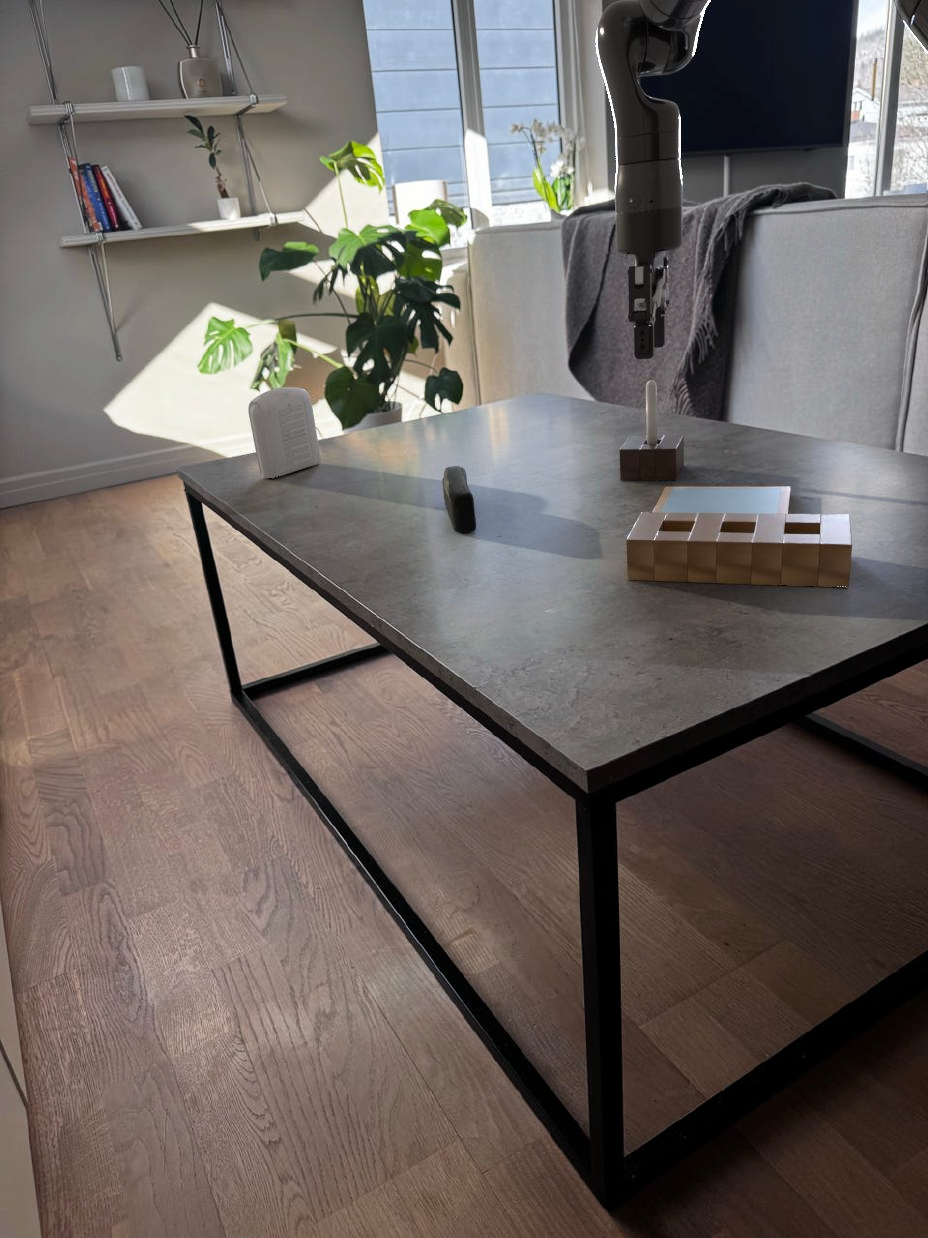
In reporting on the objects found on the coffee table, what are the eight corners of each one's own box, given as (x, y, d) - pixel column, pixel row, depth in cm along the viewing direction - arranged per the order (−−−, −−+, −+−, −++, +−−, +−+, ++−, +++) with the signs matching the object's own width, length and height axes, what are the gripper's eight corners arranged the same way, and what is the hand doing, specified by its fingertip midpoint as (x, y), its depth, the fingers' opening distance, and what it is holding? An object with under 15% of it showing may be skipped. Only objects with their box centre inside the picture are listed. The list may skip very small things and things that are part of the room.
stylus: (658, 471, 114) (657, 379, 109) (656, 474, 113) (655, 381, 108) (648, 471, 115) (646, 379, 110) (646, 474, 114) (644, 381, 109)
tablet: (790, 493, 100) (790, 485, 100) (784, 549, 85) (785, 539, 85) (665, 493, 105) (665, 485, 105) (638, 546, 90) (638, 536, 90)
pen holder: (846, 555, 82) (849, 514, 81) (848, 588, 76) (852, 544, 74) (642, 549, 89) (641, 511, 87) (627, 580, 82) (626, 539, 81)
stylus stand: (683, 464, 116) (683, 434, 114) (676, 480, 110) (676, 448, 108) (630, 465, 118) (629, 435, 116) (620, 480, 112) (619, 449, 111)
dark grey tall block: (476, 491, 97) (460, 457, 111) (449, 495, 97) (436, 460, 110) (480, 534, 99) (464, 495, 113) (454, 537, 99) (441, 498, 113)
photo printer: (308, 460, 140) (294, 381, 135) (326, 463, 137) (312, 382, 132) (256, 478, 133) (239, 395, 128) (274, 480, 130) (258, 396, 125)
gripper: (673, 204, 94) (673, 361, 100) (690, 201, 106) (689, 341, 112) (603, 212, 96) (607, 364, 103) (627, 208, 108) (630, 345, 115)
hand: (650, 352), depth 108 cm, fingers open, 8 cm apart
